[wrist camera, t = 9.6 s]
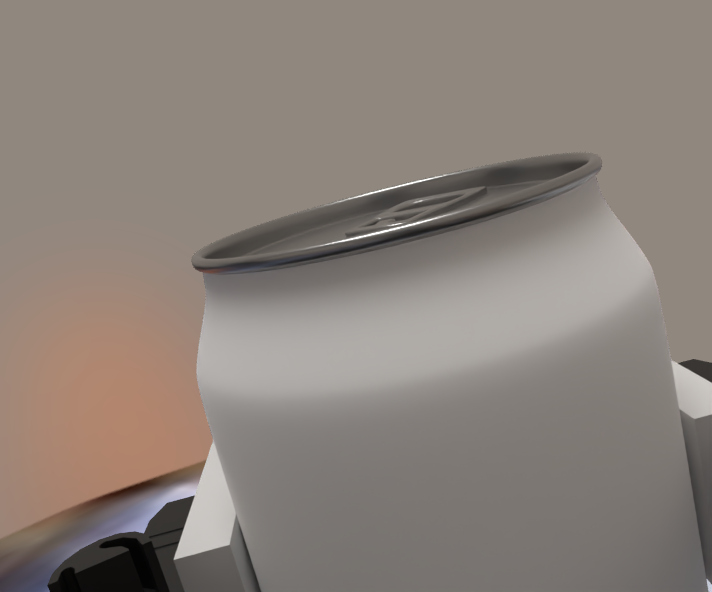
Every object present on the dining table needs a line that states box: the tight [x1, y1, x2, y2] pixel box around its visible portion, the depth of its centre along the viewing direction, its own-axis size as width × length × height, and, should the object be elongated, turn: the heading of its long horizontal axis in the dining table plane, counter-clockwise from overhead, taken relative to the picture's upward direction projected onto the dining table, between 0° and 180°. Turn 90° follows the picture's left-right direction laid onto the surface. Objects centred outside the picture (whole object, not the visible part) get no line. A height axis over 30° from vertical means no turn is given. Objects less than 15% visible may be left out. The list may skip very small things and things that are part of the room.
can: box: [191, 153, 708, 592], centre depth 11 cm, size 6×6×12 cm
